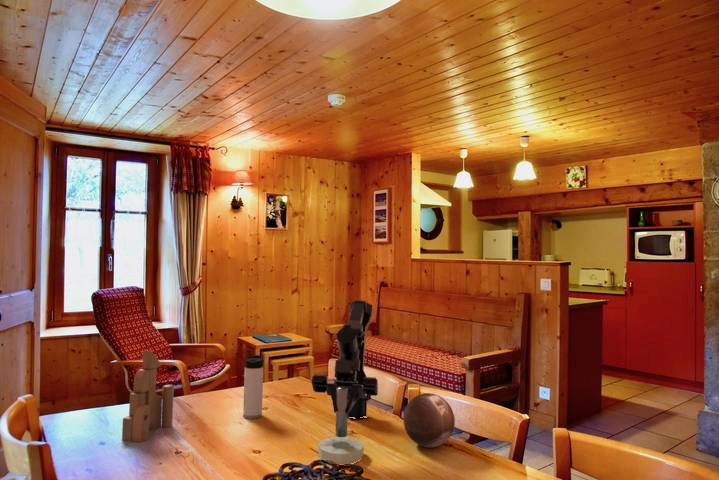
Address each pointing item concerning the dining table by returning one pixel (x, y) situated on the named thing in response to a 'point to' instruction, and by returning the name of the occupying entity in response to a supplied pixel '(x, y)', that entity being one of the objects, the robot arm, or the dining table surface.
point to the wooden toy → (147, 403)
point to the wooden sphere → (428, 420)
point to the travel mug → (253, 387)
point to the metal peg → (341, 411)
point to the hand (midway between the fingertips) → (341, 412)
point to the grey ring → (341, 450)
